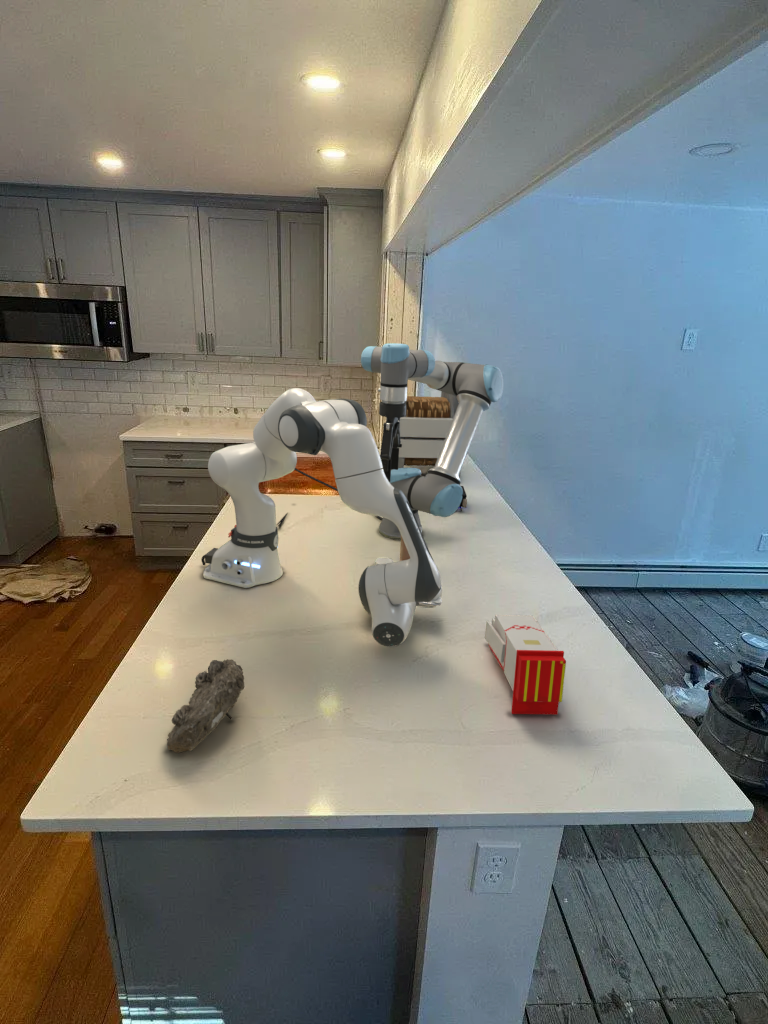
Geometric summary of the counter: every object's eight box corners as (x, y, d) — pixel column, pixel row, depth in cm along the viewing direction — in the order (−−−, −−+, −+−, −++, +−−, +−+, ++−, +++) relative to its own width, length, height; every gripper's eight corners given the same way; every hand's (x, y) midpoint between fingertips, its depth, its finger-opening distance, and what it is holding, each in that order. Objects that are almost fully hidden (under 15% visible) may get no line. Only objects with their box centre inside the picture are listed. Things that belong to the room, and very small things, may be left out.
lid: (387, 572, 170) (387, 566, 170) (371, 567, 173) (371, 561, 172) (396, 565, 175) (396, 560, 174) (380, 561, 178) (380, 555, 177)
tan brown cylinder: (403, 586, 162) (407, 523, 156) (418, 591, 160) (423, 527, 153) (394, 592, 158) (397, 528, 152) (409, 598, 156) (413, 532, 149)
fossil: (192, 660, 117) (244, 628, 112) (224, 691, 120) (276, 661, 115) (142, 746, 98) (202, 712, 93) (182, 779, 101) (242, 748, 96)
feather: (294, 507, 225) (297, 503, 224) (277, 531, 198) (280, 526, 197) (290, 504, 224) (293, 500, 224) (273, 528, 198) (276, 524, 197)
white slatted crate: (382, 463, 289) (386, 382, 275) (445, 464, 293) (451, 384, 279) (390, 482, 257) (394, 392, 243) (460, 483, 261) (468, 394, 247)
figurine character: (467, 516, 223) (461, 500, 237) (469, 499, 220) (463, 483, 233) (450, 516, 223) (446, 499, 236) (452, 498, 220) (447, 483, 233)
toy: (530, 600, 137) (574, 657, 108) (525, 651, 140) (567, 720, 111) (480, 599, 137) (511, 656, 107) (477, 651, 139) (506, 719, 110)
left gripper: (441, 595, 137) (445, 571, 150) (358, 585, 140) (369, 562, 153) (440, 618, 139) (443, 592, 152) (358, 608, 142) (369, 583, 155)
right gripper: (387, 394, 169) (384, 463, 177) (370, 407, 146) (367, 486, 154) (412, 396, 168) (408, 465, 176) (399, 409, 145) (395, 488, 152)
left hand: (406, 577), depth 152 cm, fingers open, 8 cm apart
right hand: (389, 475), depth 165 cm, fingers open, 13 cm apart
